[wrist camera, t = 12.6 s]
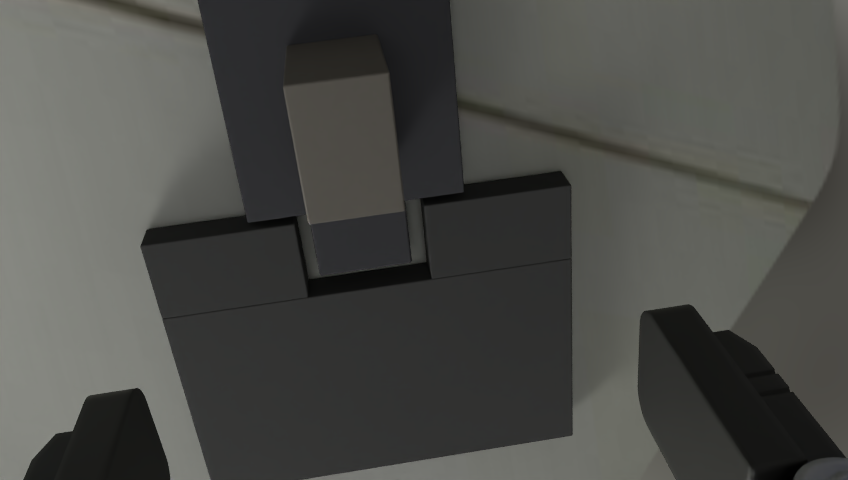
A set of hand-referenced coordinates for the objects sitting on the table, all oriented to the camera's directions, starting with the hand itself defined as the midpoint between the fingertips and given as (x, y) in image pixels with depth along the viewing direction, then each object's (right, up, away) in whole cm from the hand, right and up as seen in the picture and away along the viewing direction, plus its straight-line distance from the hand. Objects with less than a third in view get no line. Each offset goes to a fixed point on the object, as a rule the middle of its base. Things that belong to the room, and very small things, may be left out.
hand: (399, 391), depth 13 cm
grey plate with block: (-3, +7, +20) cm, 21 cm away
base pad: (-2, -2, +25) cm, 25 cm away
